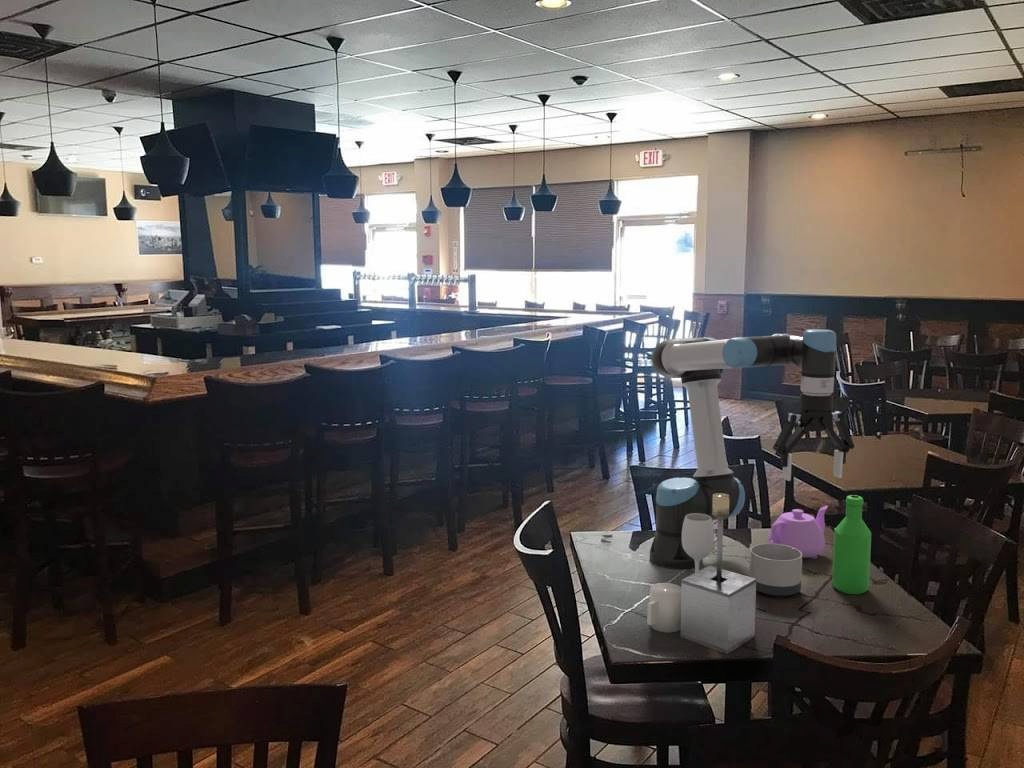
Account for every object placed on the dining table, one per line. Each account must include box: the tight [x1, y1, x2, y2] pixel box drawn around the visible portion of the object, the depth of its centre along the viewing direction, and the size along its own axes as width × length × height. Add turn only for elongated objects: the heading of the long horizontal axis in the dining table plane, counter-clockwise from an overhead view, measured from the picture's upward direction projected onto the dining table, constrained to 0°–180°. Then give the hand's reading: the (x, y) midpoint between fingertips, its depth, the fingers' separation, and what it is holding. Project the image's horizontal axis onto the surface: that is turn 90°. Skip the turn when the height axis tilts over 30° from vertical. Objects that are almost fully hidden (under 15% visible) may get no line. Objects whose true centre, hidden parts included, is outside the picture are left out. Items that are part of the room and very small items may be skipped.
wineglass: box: [682, 513, 715, 573], centre depth 201 cm, size 9×9×21 cm
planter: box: [749, 543, 803, 597], centre depth 204 cm, size 13×13×10 cm
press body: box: [680, 565, 757, 655], centre depth 178 cm, size 12×12×14 cm
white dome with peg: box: [646, 582, 681, 633], centre depth 184 cm, size 8×11×9 cm
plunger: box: [712, 493, 729, 583], centre depth 176 cm, size 9×9×23 cm
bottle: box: [831, 494, 872, 595], centre depth 203 cm, size 9×9×25 cm
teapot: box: [768, 505, 829, 560], centre depth 229 cm, size 22×16×14 cm
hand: (812, 478), depth 193 cm, fingers open, 13 cm apart
